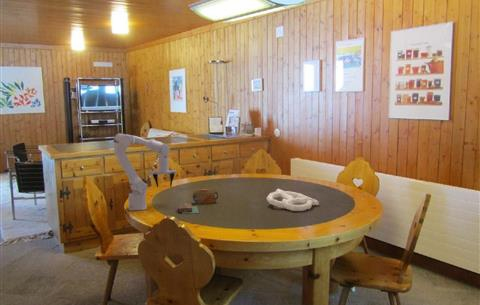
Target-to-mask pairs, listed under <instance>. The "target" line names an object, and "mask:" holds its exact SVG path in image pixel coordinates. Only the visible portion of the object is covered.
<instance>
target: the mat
mask: <svg viewBox="0 0 480 305" xmlns="http://www.w3.org/2000/svg"><path fill="white" fill-rule="evenodd" d="M198 208H199V207H198V206H197V205H194V206H193V205H192V212H183V213H181V215H189V214H199V209H198Z"/></svg>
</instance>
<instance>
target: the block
mask: <svg viewBox="0 0 480 305" xmlns="http://www.w3.org/2000/svg"><path fill="white" fill-rule="evenodd" d="M192 206H193V205H192V203H191V202H187V203H186V202H185V203H178V210H179V211H178V213H181V214H182V213H183V212H192Z"/></svg>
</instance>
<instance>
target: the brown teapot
mask: <svg viewBox="0 0 480 305" xmlns="http://www.w3.org/2000/svg"><path fill="white" fill-rule="evenodd" d="M192 199H193V201H194V202H195V204H198V205H200V204H203V205H204V204H213V203H215V202H217V200H218V199H219V193H218V191H217V190H216V189H213V188H205V189H204V188H201V189H200V188H199V189H196V190H195V191H193V194H192Z"/></svg>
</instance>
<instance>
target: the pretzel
mask: <svg viewBox="0 0 480 305" xmlns="http://www.w3.org/2000/svg"><path fill="white" fill-rule="evenodd" d="M279 197H280V198H282V200H278V199H276V198H279ZM266 201H267V202H268V203H269V204H271V206H272V205H273V206H274V207H278V208H281V209H287V210H290V211H293V212H304V211H307V209H308V210H311V208H312V207H313V206H315V205H316V206H318V205H319V204H320V203H319V202H320V201H318V199H315V198H311V196H308V195H304V193H299V192H295V191H290V190H287V191H286V190H283V189H281V188H277V189H276V190H275V191H273V192H270V193H269V194H268V195H267V197H266Z"/></svg>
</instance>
